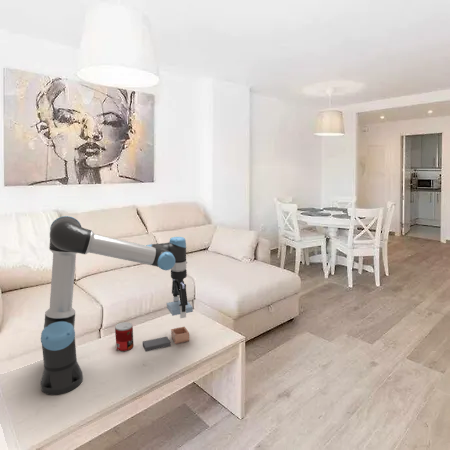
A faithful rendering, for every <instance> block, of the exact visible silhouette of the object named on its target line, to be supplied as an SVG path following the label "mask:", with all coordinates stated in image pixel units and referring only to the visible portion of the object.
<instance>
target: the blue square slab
mask: <svg viewBox="0 0 450 450" xmlns="http://www.w3.org/2000/svg"><path fill="white" fill-rule="evenodd" d="M187 303H188V305H186V314H188V313H193V311H194V307H193V306H192V304H190V302H189V301H188V300H187ZM180 304H181V303H180V300H179V301H175V302H173V301H169V302H166V309H167V310H168V312H169V313H170V315H171V316H180V306H179V305H180Z"/></svg>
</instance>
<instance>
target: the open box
mask: <svg viewBox="0 0 450 450" xmlns="http://www.w3.org/2000/svg"><path fill="white" fill-rule="evenodd" d="M170 334H171V337H170V338H171V340H172V341H173V343H174V344H175V345H178V344H182V343H186V342H190V332H189V331H188V329H187V328H186V327H185V326H180V327H176V328H175V327H174V328H171V329H170Z"/></svg>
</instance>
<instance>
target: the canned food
mask: <svg viewBox="0 0 450 450" xmlns="http://www.w3.org/2000/svg"><path fill="white" fill-rule="evenodd" d="M133 328H134V327H133V323H132V322H130V321H129V322H128V321H123V322H120V323H117V324H115V327H114V333H115V346H116V350H118V351H119V352H127V351H130V350H131V349H132V348H133V347H134V332H133V331H134V329H133Z"/></svg>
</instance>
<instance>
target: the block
mask: <svg viewBox="0 0 450 450" xmlns="http://www.w3.org/2000/svg"><path fill="white" fill-rule="evenodd" d="M171 345H172V344H171V340H170V339H169V337H168V336H162V337H158V338H154V339H149V340H144V341H142V346H143V349H144V351H145V352H150V351H154V350H158V349H164V348H168V347H171Z"/></svg>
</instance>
